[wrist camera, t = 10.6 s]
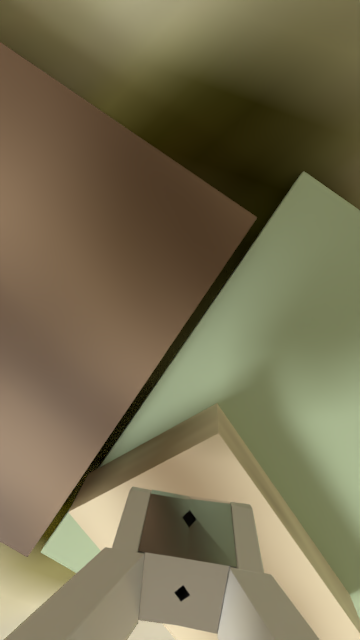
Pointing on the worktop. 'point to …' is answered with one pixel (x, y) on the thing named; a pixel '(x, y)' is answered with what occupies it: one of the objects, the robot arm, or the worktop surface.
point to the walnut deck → (86, 282)
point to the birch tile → (226, 485)
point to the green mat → (276, 375)
